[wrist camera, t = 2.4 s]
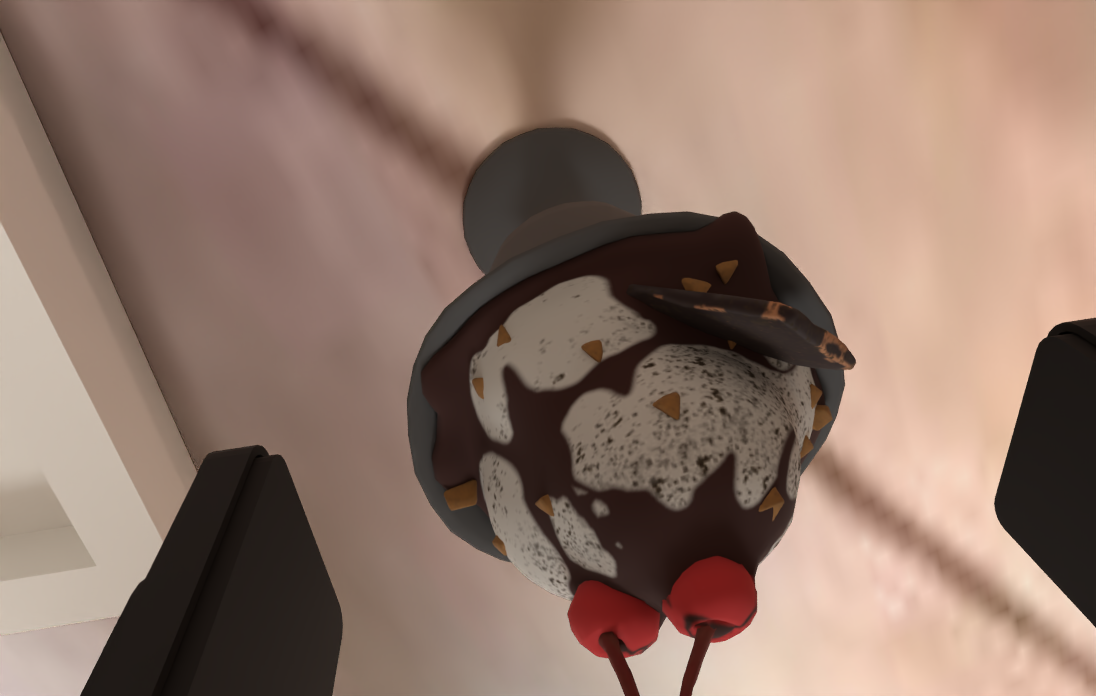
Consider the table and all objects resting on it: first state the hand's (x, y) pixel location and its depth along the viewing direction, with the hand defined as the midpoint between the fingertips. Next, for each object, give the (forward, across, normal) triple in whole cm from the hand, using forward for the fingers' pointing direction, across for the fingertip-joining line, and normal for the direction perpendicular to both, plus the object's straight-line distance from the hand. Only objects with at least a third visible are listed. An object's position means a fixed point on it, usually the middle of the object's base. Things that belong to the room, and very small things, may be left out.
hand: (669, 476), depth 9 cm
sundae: (+12, 0, +1) cm, 12 cm away
